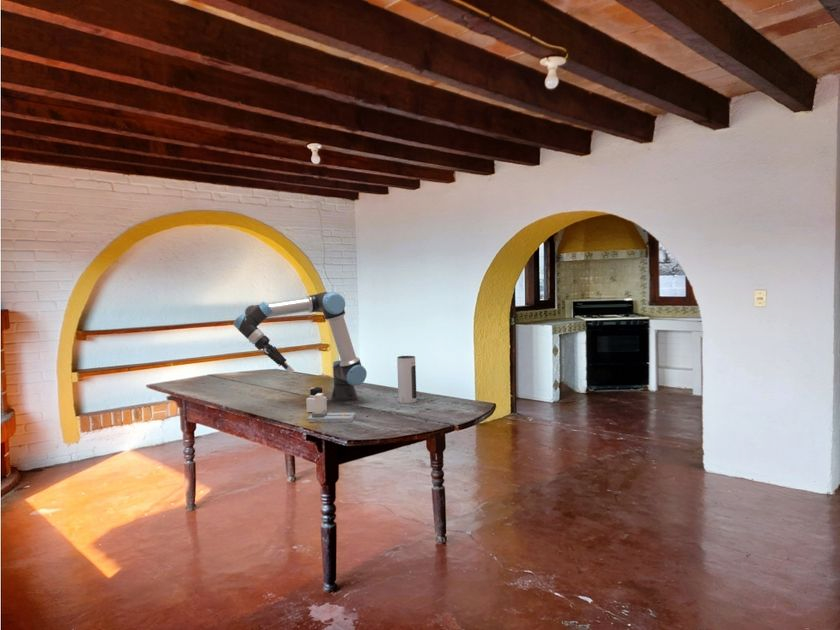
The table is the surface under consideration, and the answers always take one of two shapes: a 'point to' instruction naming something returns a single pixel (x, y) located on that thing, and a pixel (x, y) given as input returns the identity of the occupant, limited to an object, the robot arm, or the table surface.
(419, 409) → the table surface
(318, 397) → the fader
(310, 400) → the container
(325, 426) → the table surface
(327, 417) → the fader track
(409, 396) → the speaker
